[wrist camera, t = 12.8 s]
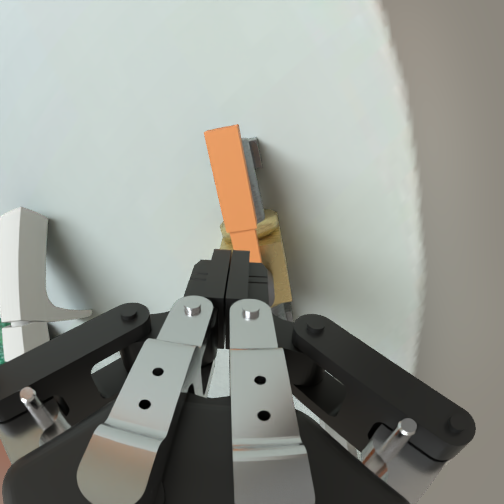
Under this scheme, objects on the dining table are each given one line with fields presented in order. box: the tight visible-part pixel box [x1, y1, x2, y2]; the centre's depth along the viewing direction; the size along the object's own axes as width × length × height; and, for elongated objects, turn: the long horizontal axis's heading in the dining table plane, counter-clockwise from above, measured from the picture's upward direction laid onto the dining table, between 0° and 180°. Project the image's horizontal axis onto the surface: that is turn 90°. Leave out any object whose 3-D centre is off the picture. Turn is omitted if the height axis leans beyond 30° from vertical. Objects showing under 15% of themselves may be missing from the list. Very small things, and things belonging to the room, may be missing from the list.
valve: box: [220, 137, 293, 322], centre depth 35 cm, size 26×6×8 cm, turn 12°
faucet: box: [0, 207, 92, 362], centre depth 37 cm, size 6×16×20 cm
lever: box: [204, 124, 275, 307], centre depth 26 cm, size 17×3×4 cm, turn 10°
